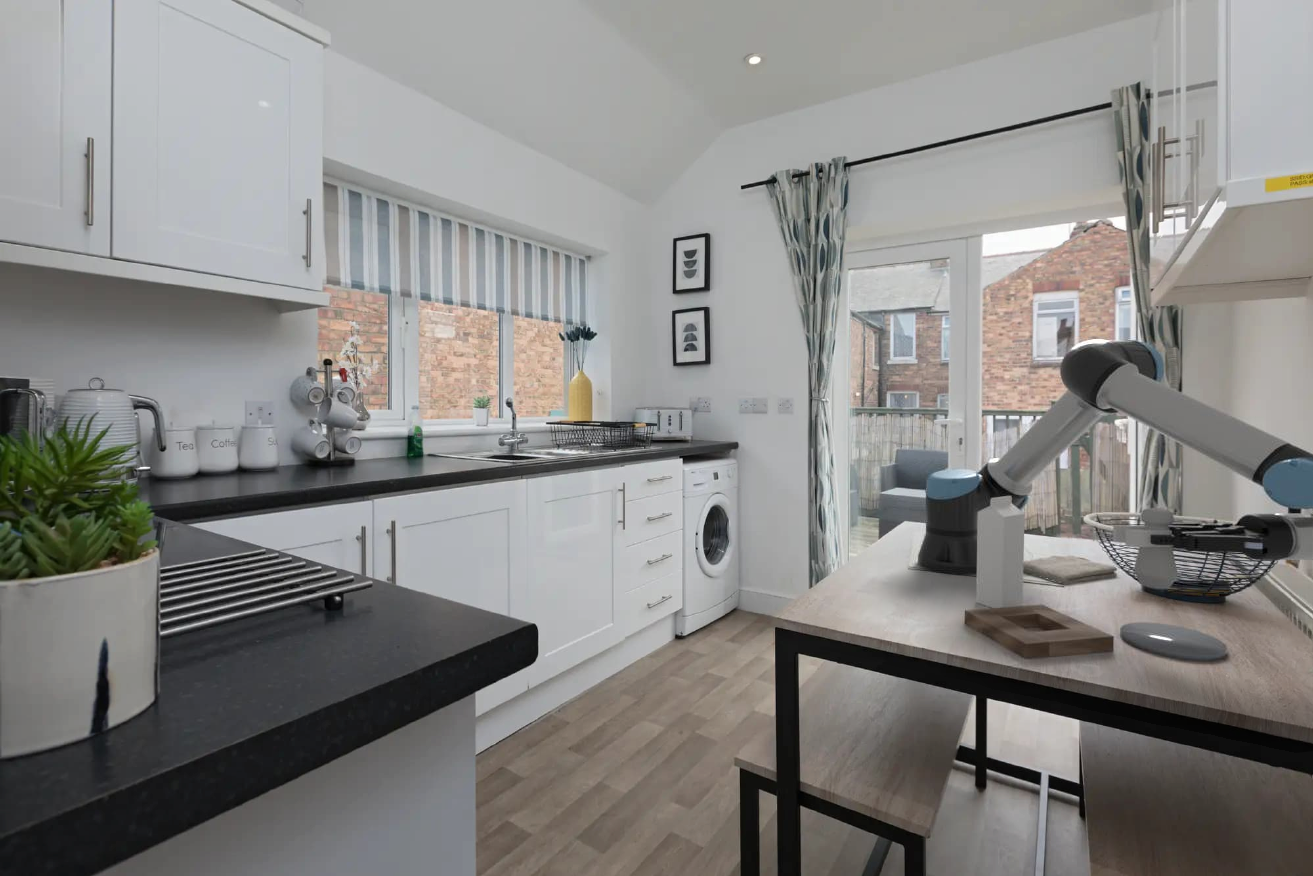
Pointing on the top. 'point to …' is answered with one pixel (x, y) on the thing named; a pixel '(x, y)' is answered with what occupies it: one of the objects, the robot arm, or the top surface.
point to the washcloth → (1068, 569)
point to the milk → (1000, 554)
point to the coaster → (1173, 641)
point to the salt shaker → (1156, 553)
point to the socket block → (1054, 641)
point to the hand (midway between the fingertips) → (1120, 535)
